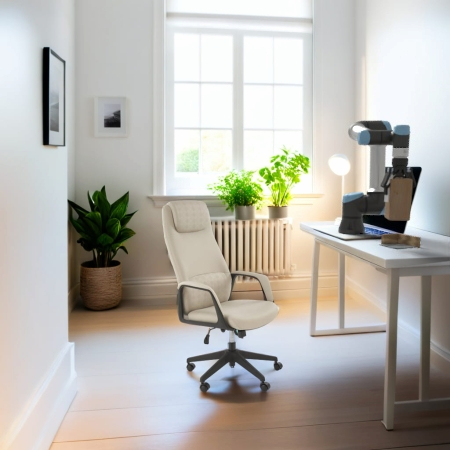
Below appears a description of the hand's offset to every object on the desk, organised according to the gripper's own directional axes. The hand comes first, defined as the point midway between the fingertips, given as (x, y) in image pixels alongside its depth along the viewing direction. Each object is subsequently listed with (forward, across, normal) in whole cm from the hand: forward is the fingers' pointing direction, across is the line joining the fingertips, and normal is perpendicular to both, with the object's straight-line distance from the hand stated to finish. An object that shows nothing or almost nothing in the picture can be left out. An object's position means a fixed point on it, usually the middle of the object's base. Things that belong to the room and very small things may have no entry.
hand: (397, 201), depth 244 cm
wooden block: (+9, 0, 0) cm, 9 cm away
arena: (+22, +2, +1) cm, 22 cm away
